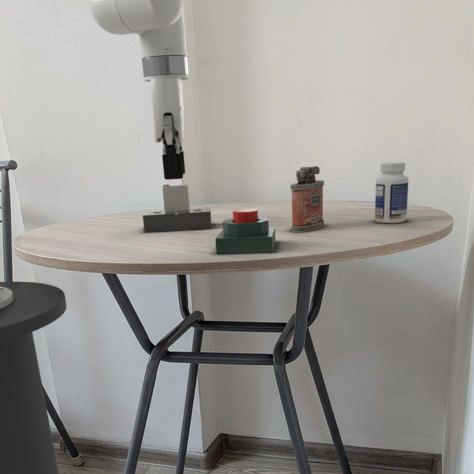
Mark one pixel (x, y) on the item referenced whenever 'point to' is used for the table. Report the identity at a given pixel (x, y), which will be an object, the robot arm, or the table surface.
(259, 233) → the green button base
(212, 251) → the table surface
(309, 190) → the lighter
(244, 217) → the stop button
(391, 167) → the pill bottle
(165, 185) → the light grey block
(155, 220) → the panel
